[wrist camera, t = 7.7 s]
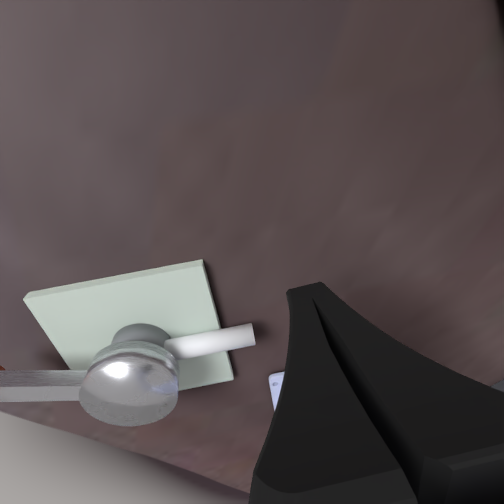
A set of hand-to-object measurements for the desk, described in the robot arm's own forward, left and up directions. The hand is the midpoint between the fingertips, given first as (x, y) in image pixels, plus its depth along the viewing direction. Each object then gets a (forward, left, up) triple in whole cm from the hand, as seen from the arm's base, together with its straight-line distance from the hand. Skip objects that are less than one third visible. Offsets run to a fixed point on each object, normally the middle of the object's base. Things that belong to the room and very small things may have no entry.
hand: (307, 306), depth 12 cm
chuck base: (-9, +10, -10) cm, 16 cm away
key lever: (-8, +14, -7) cm, 18 cm away
